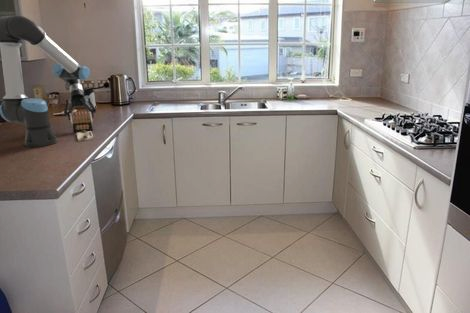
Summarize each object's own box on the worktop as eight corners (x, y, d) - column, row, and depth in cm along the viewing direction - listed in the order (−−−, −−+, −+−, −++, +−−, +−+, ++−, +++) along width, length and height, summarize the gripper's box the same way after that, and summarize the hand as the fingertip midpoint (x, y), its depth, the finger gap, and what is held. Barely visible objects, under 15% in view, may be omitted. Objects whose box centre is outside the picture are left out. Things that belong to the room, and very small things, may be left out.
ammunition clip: (92, 129, 232) (90, 110, 228) (92, 130, 230) (89, 110, 227) (73, 131, 228) (70, 111, 225) (73, 132, 227) (70, 112, 223)
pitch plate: (78, 141, 207) (77, 137, 206) (76, 134, 222) (76, 131, 221) (93, 139, 210) (93, 135, 209) (91, 133, 225) (90, 129, 224)
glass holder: (92, 108, 310) (90, 90, 306) (77, 108, 314) (74, 90, 309) (98, 106, 319) (96, 88, 314) (83, 106, 322) (81, 88, 318)
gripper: (96, 95, 242) (102, 124, 232) (57, 98, 233) (61, 128, 224) (96, 87, 236) (102, 117, 226) (55, 90, 227) (60, 121, 218)
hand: (82, 122), depth 225 cm, fingers closed on ammunition clip, 10 cm apart
